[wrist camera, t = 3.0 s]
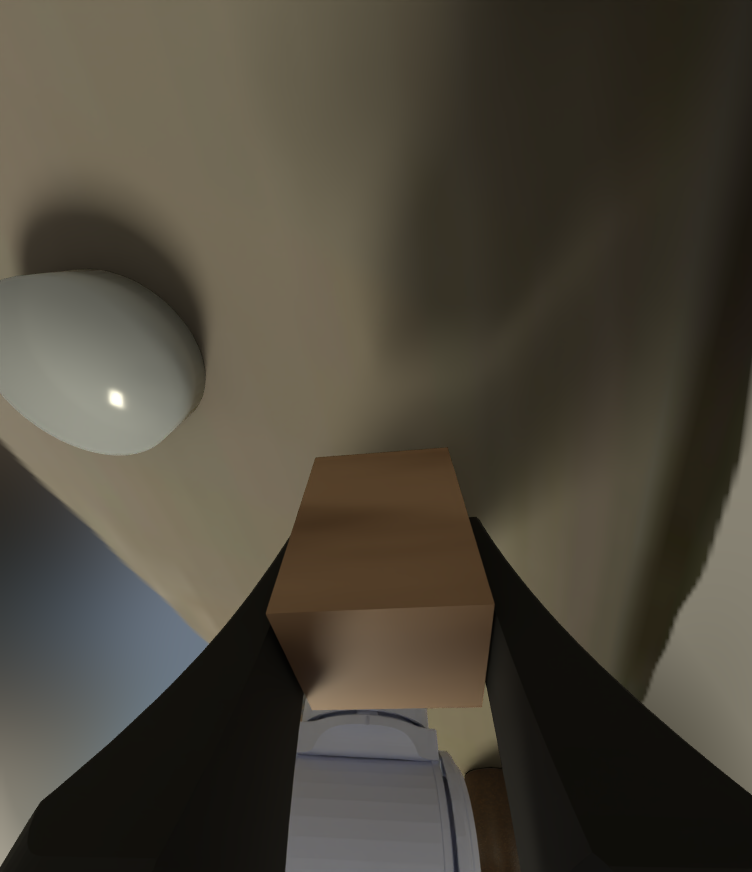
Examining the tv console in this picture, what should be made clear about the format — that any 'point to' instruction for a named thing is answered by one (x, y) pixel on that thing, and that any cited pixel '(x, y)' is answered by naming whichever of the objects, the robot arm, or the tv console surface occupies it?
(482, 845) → the plant pot
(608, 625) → the tv console surface
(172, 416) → the pale grey round disc
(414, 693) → the walnut block
